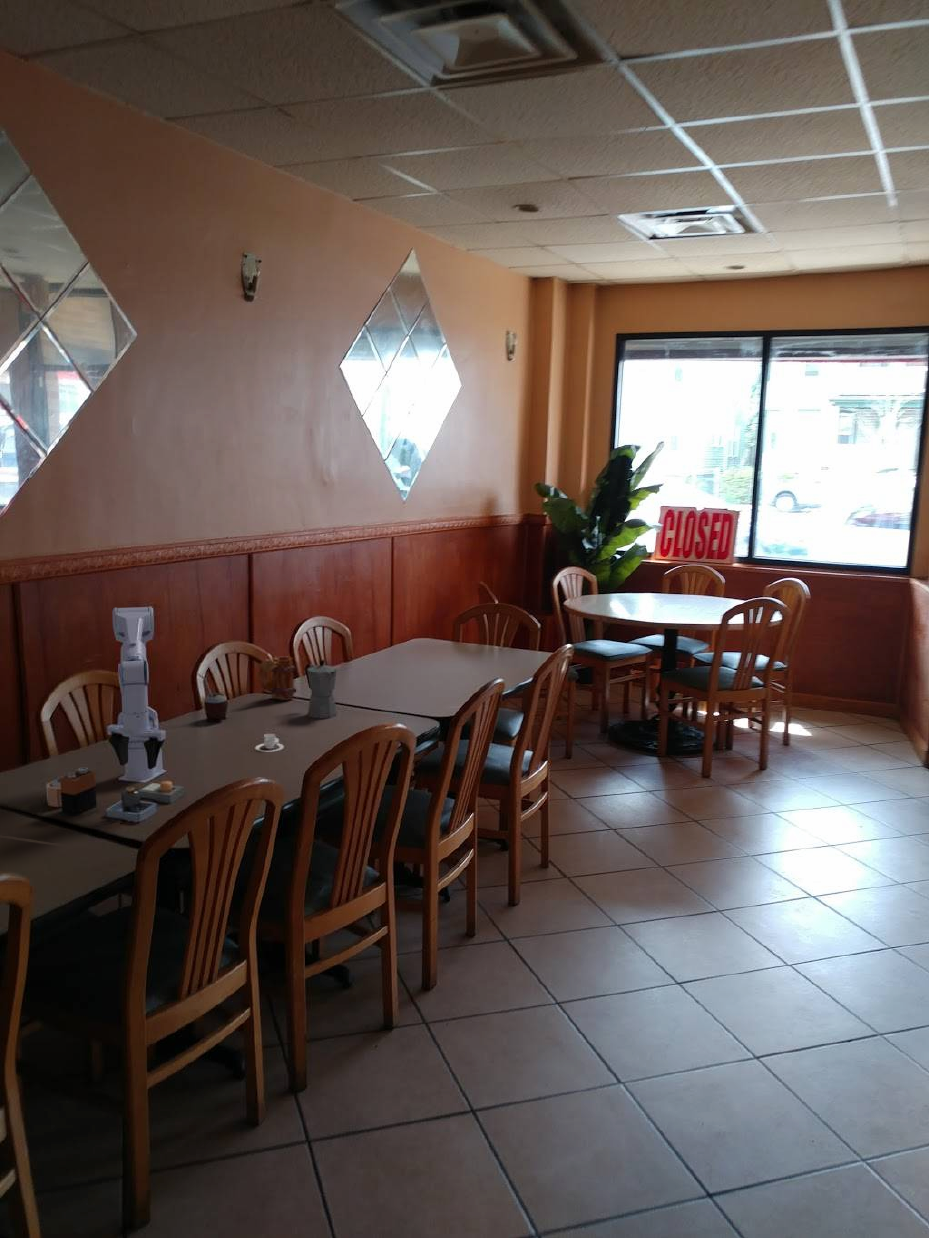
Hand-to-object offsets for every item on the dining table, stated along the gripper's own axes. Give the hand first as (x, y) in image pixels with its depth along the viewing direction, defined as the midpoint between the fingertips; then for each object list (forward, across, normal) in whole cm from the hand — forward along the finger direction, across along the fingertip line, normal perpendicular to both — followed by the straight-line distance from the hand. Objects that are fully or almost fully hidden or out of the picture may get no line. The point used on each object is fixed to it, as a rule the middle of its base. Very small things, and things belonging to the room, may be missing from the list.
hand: (138, 765), depth 222 cm
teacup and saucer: (+11, +12, +50) cm, 53 cm away
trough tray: (+10, +2, -6) cm, 12 cm away
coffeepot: (+10, +9, +84) cm, 85 cm away
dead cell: (+9, -17, -5) cm, 20 cm away
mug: (+11, -11, +94) cm, 95 cm away
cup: (+10, -17, -5) cm, 21 cm away
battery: (+10, -10, -8) cm, 17 cm away
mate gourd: (+11, -19, +67) cm, 70 cm away
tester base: (+10, +2, +6) cm, 11 cm away
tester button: (+9, +3, +6) cm, 11 cm away
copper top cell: (+9, +2, -6) cm, 11 cm away
